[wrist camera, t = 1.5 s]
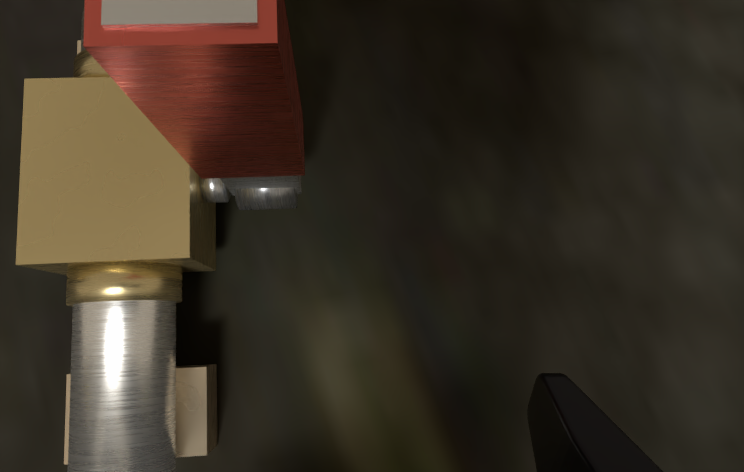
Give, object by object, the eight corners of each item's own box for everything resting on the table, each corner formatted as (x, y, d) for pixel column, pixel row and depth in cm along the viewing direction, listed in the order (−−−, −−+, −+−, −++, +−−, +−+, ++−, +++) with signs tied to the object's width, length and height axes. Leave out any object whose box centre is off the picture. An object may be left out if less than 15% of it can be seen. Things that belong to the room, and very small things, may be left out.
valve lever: (311, 213, 22) (277, 51, 9) (230, 216, 21) (80, 55, 9) (309, 156, 22) (273, -75, 9) (229, 158, 22) (84, -74, 9)
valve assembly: (244, 457, 22) (217, 493, 17) (80, 467, 22) (4, 508, 17) (238, 59, 24) (213, -10, 20) (91, 61, 24) (28, -8, 19)
